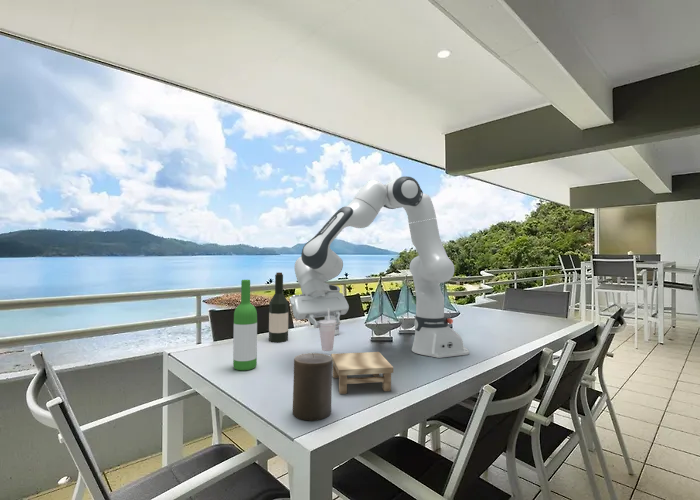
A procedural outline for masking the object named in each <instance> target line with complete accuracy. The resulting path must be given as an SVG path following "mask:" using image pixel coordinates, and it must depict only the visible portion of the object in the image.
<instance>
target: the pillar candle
mask: <svg viewBox="0 0 700 500" xmlns="http://www.w3.org/2000/svg"><path fill="white" fill-rule="evenodd" d="M293 359H294V360H293V380H292V381H293V386H292V387H293V391H292V415H293V416H294V417H295V418H297V419H298V420H304V421H311V422H312V421H313V422H315V421H320V420H324V419H326V418H328V417H330V415H331V414H332V395H333V393H332V390H333V389H332V385H333V384H332V383H333V362H332V357H331V355H329V354H327V353H326V354H325V353H318V352H315V353H314V352H309V353H308V352H307V353H301V354H298V355H296V356H294V358H293Z"/></svg>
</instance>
